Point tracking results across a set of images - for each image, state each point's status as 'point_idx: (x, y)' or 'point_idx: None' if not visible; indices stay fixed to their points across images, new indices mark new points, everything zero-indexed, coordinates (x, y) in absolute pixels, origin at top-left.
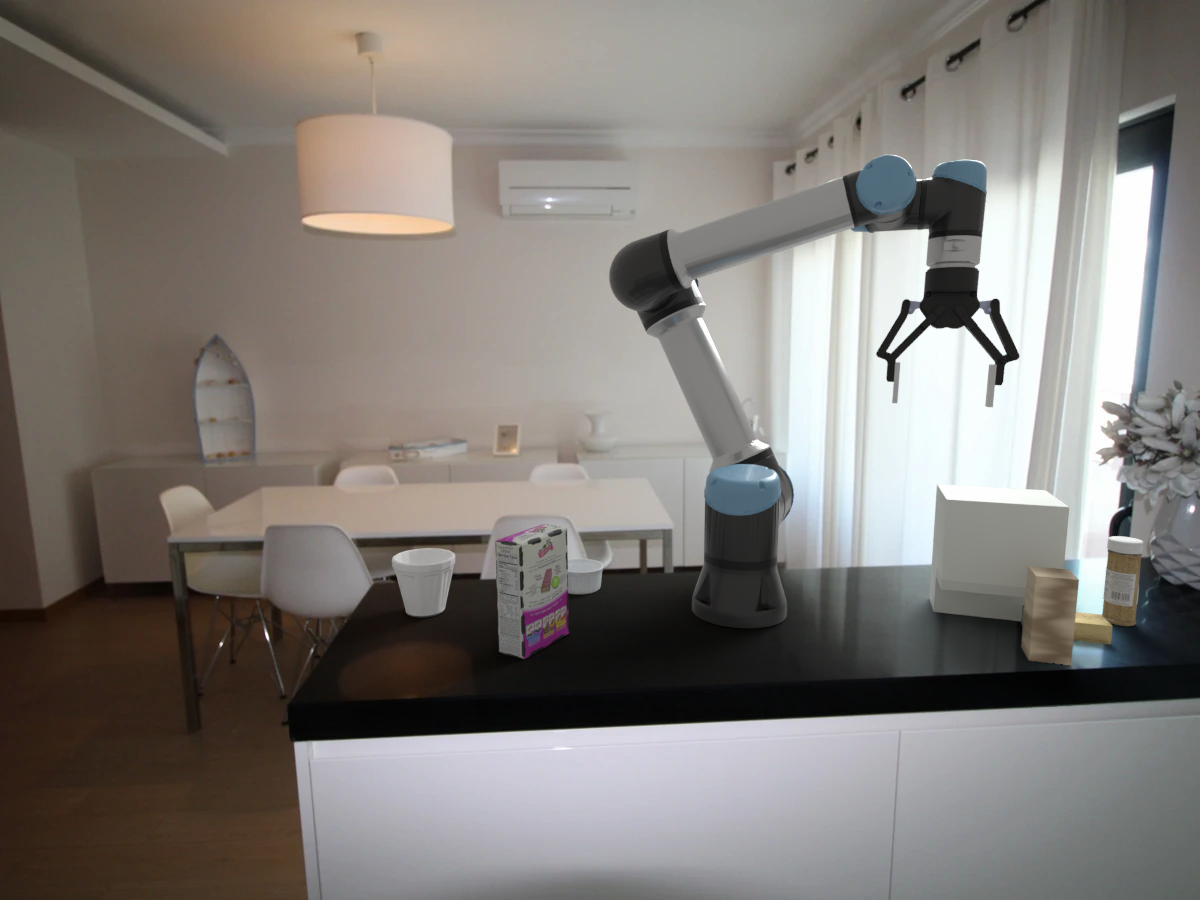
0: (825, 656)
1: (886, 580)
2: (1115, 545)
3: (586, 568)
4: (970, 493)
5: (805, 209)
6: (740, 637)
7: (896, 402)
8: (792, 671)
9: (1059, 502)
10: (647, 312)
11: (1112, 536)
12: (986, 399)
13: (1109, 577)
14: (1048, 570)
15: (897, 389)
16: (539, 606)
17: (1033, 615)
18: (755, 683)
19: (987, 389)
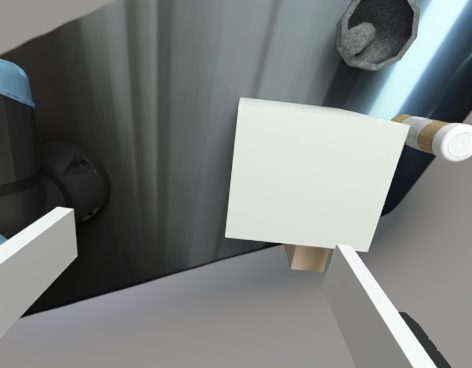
0: (146, 249)
1: (203, 34)
2: (437, 153)
3: None
4: (270, 185)
5: None
6: (85, 230)
7: (73, 256)
8: (128, 272)
9: (372, 225)
10: None
11: (454, 131)
12: (339, 272)
13: (412, 140)
14: (309, 251)
15: (45, 286)
16: None
17: (285, 247)
18: (110, 290)
19: (352, 299)
